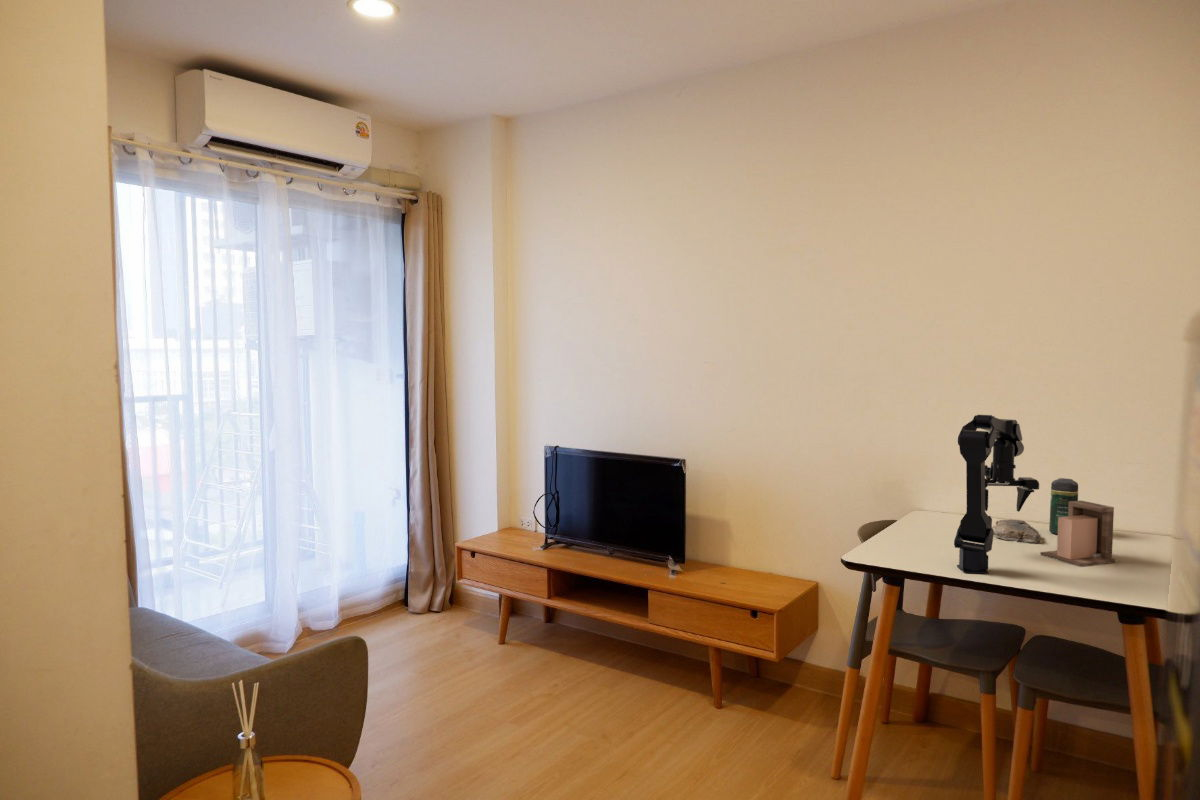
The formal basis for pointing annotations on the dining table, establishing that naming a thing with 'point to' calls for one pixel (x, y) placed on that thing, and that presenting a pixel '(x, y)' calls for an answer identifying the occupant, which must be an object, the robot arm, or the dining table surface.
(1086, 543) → the terracotta slab
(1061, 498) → the coffee jar
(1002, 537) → the jagged gray stone
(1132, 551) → the dining table surface
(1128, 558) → the dining table surface
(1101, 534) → the walnut shelf
